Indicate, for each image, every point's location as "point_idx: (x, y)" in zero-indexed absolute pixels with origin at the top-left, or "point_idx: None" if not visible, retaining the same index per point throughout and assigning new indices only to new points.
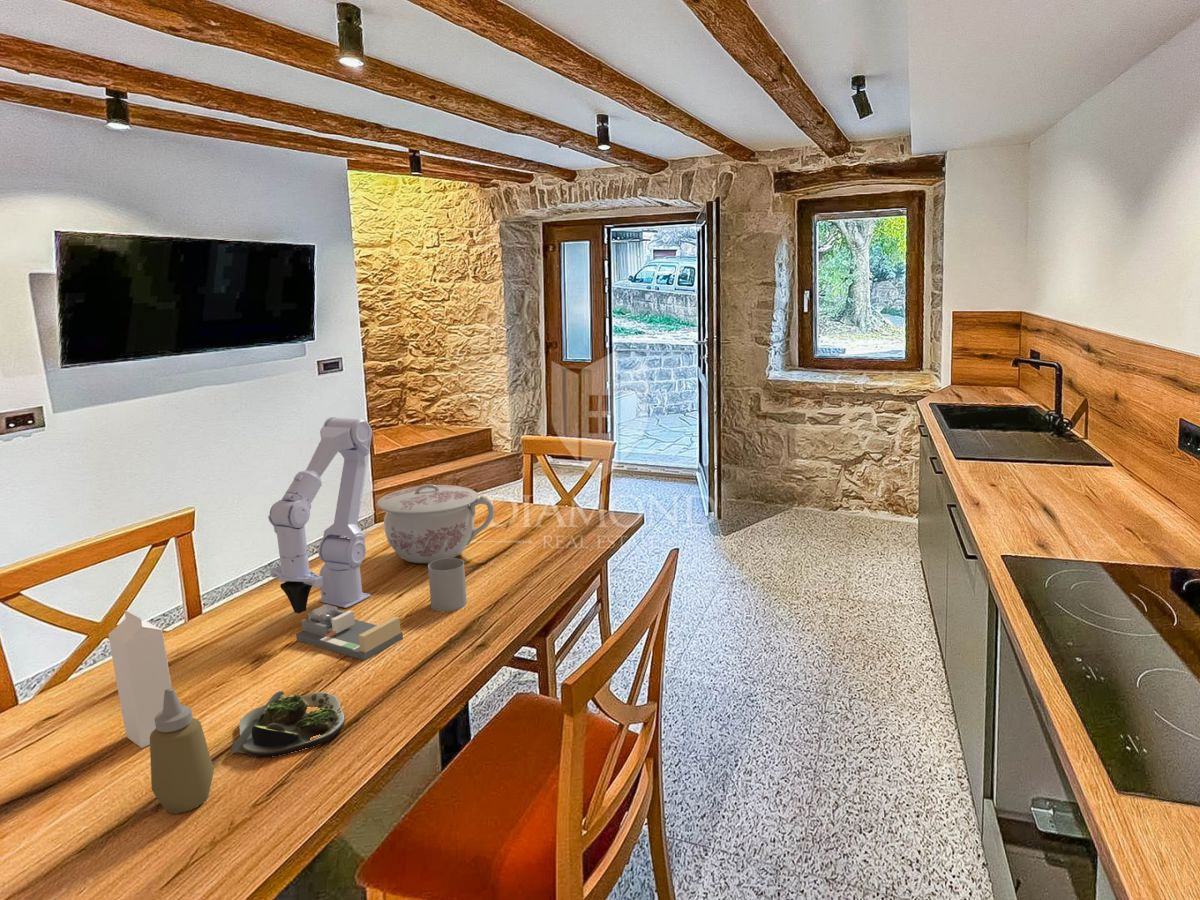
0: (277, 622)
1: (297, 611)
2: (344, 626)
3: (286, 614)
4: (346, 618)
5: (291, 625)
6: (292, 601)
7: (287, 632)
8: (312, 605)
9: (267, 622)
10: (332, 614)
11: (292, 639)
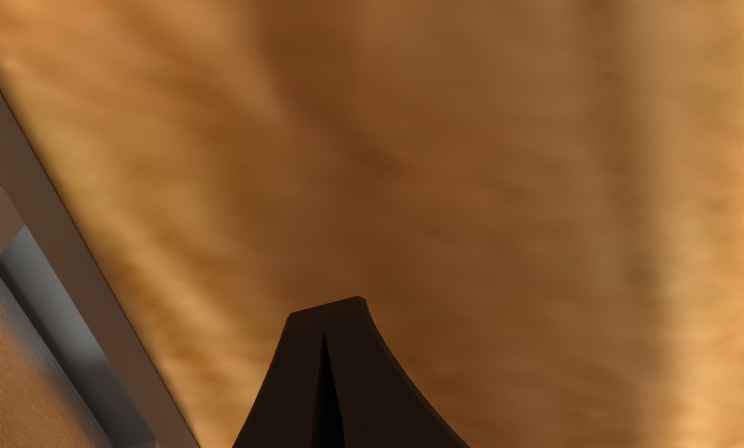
0: (603, 127)
1: (284, 328)
2: None
3: (673, 250)
4: None
5: (421, 188)
6: (341, 414)
7: (291, 92)
8: (621, 427)
9: (698, 58)
10: None
11: (57, 48)
